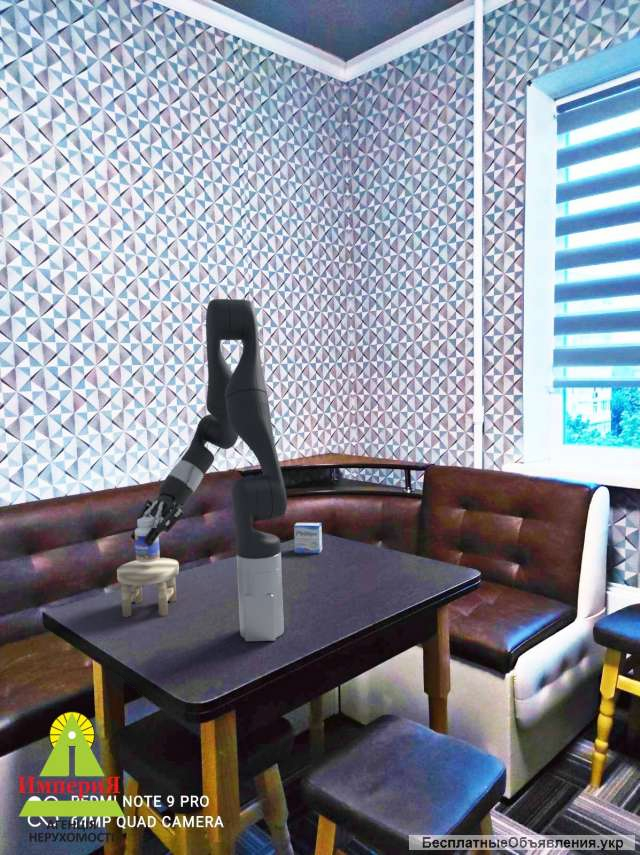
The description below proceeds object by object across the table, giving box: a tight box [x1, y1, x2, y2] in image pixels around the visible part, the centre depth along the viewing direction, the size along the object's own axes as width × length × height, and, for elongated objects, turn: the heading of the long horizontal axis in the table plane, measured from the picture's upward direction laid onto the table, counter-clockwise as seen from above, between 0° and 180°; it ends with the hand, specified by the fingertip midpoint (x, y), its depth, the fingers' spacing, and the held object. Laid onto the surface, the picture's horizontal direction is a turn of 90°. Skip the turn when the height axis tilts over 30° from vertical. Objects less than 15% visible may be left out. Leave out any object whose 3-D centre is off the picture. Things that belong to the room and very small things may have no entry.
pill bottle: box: [134, 516, 161, 563], centre depth 142 cm, size 5×5×10 cm
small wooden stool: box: [116, 557, 180, 618], centre depth 143 cm, size 14×14×10 cm
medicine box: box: [293, 522, 323, 554], centre depth 185 cm, size 8×4×9 cm, turn 80°
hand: (140, 541), depth 141 cm, fingers closed on pill bottle, 5 cm apart
